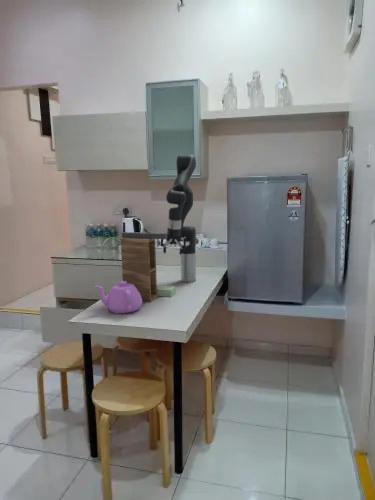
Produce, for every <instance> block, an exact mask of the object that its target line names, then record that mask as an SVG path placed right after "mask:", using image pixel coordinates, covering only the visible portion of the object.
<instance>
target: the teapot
mask: <svg viewBox="0 0 375 500" xmlns="http://www.w3.org/2000/svg"><path fill="white" fill-rule="evenodd" d="M94 286H95V287H96V288H98V290H99V295H100V296H99V297H100V300H101V302H102V303H103V305H105V306H106V308H107V309H108V310H109V311H110V312H111V313H114V314H130V313H133V312H136V311H138V310H139V309H140V308H141V306H142V305H143V301H142V298H141V295H140V293H139V291H138V290H137V288H136V287H135V286H134V285H133V284H129V283H127V282H126V281H123V280H121V281H119V282H118V283H117V284H114V285H113V286H112V287H111V288H110V290H109V292H108V293H107V296H106V295H105V291H104V287H103V286H101V285H97V284H96V285H94Z"/></svg>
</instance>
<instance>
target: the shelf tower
mask: <svg viewBox="0 0 375 500" xmlns="http://www.w3.org/2000/svg"><path fill="white" fill-rule="evenodd" d="M120 249H121V251H120V252H121V271H122V272H121V273H122V281H126V282H127V283H129V284H133V285H134V286H135V287H136V288H137V290H138V291H139V293H140V295H141V298H142V302H146V303H147V302H148V303H151V302H152V301H154V300H155V299H157V298H158V296H157V286H158V282H157V278H158V277H157V255H156V254H157V252H156V239H143V238H122V237H121V238H120Z"/></svg>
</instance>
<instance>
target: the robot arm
mask: <svg viewBox="0 0 375 500" xmlns="http://www.w3.org/2000/svg"><path fill="white" fill-rule="evenodd" d="M196 167H197V160H196V156H195V155H193V154H184V155H183V154H182V155H177V157H176V174H177V175H176V176H177V177H176V178H175V179H174V183H173V186H171V188H170V189H169V190H168V192H167V194H166V198H165V199H166V201H167V203H168V204H170V205H177V206H175V207H170V208H169V210H168V220H167V232H166V233H167V239H166V242H165V243H164V240H165V239H160V246H161V247H163V252H162V253H164V254H166V253H167V246H168V245H177V246H178V247H179V255H180V258H179V259H180V281H181V282H183V283H191V282H192V283H193V282H196V281H197V268H196V267H197V266H196V265H197V263H196V261H197V260H196V259H197V258H196V257H197V256H196V237H197V236H196V235H197V233H196V232H197V231H196V227H194V226H190V225H189V226H186V225H185V226H184V223H185V220H186V217H187V216H188V215H189V212H190V211H191V209H192V207H193V206H194V193H193V191H192V188H191V187H190V186H189V184H188V182H189V180H190V178H191V177H192V175H193V173H194V172H195V169H196ZM181 242H183V244H182V243H181ZM187 243H189V244H187ZM186 244H187V245H186Z"/></svg>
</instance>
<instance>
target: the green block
mask: <svg viewBox="0 0 375 500" xmlns="http://www.w3.org/2000/svg"><path fill="white" fill-rule="evenodd" d="M175 294H176V286H169V285H157V297H158V296H159V297H170V298H171V297H172V296H174V295H175Z"/></svg>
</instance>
